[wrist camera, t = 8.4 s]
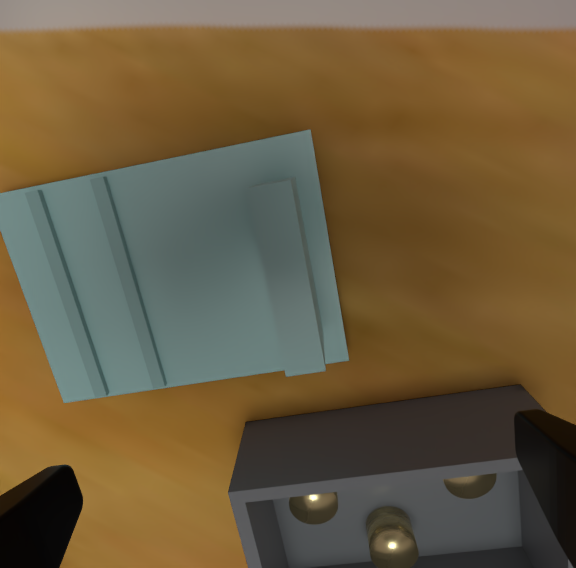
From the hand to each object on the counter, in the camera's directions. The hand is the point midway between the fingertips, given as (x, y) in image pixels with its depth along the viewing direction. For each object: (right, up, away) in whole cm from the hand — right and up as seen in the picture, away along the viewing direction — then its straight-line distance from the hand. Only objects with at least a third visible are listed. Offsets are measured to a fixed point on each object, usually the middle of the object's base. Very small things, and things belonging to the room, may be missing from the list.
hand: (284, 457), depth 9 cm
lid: (-5, +4, +12) cm, 13 cm away
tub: (+6, -7, +15) cm, 17 cm away
